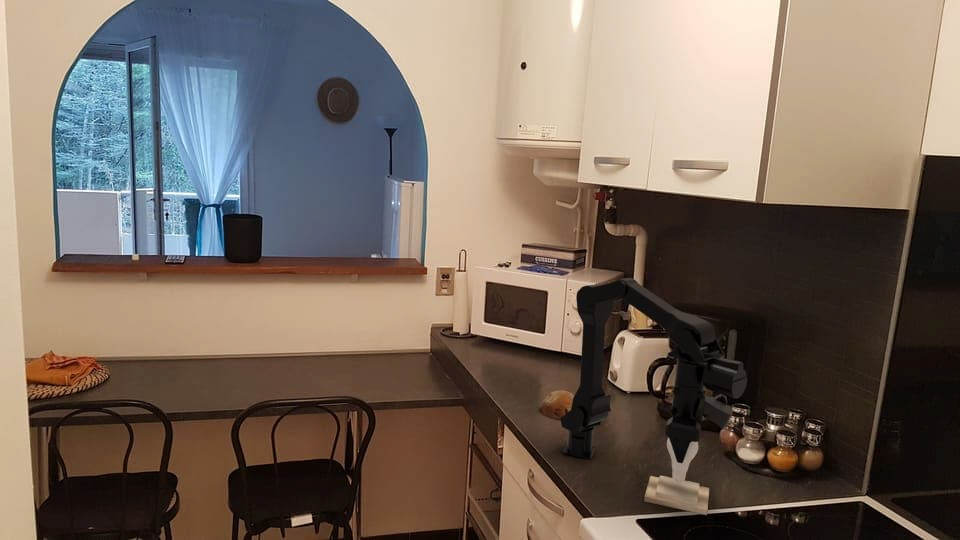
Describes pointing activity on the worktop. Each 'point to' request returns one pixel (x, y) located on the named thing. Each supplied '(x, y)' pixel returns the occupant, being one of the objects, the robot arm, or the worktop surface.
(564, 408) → the bread roll
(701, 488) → the base
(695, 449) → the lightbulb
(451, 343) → the worktop surface
